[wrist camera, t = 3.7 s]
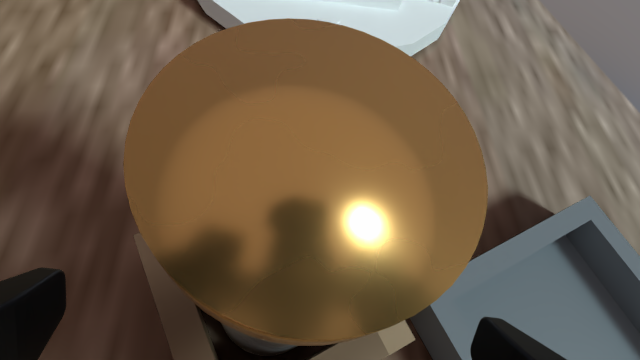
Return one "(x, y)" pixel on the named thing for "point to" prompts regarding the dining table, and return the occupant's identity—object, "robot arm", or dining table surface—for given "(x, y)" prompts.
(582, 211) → the tray
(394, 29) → the giant coin
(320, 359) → the socket block
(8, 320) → the robot arm
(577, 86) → the dining table surface
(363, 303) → the pin
